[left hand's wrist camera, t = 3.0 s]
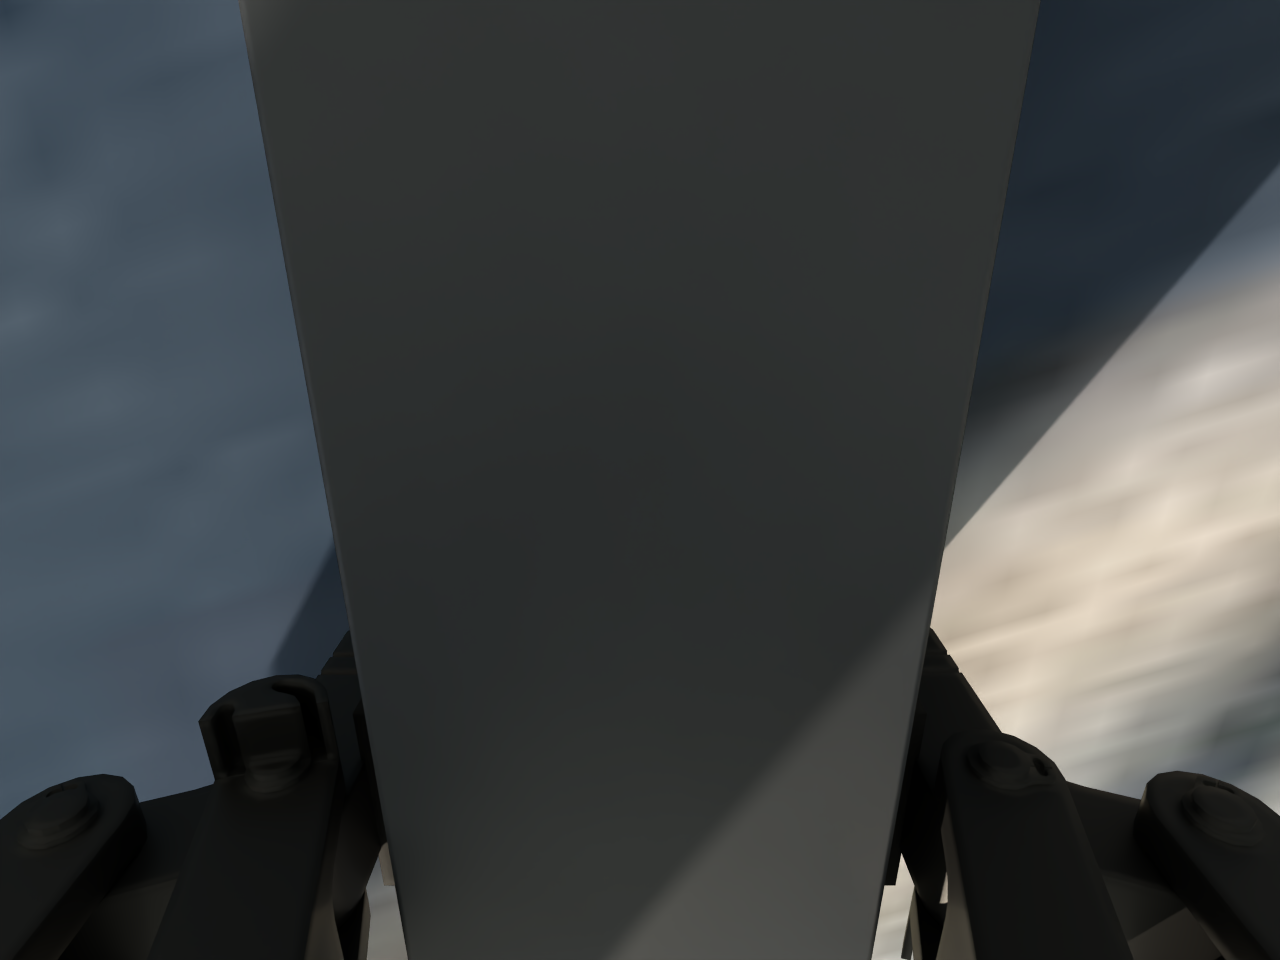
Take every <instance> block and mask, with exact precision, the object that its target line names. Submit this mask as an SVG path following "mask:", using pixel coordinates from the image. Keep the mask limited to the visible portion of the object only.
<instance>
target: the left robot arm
mask: <svg viewBox="0 0 1280 960" xmlns="http://www.w3.org/2000/svg"><path fill="white" fill-rule="evenodd" d="M198 722H199V726H200V729H201V733H202V736H203V740H204V743H205V747H206V750H207V754H208V757H209V761H210V764H211V768H212V771H213V775H214V778H215V781H214V784H212V785H209V786H205V787H202V788H199V789H196V790H192V791H187V792H183V793H179V794H174V795H170V796H166V797H162V798H157V799H153V800H149V801H144V802H140V803H139V801H138V798H137V795H136V792H135V789H134V786H133V785H131V784H130V783H129V782H128V781H127V780H126V779H125V778H123V777H120V776H114V775H107V774H99V775H92V776H85V777H78V778H75V779H72V780H69V781H66V782H63V783H60V784H58V785H55V786H52V787H49V788H47V789H46V790H44V791H42V792H40V793H38V794H36V795H35V796H33V797H31V798H29V799H27V800H25V801H24V802H22V803H21V804H19V805H18V806H17V807H16V808H14V809H13V810H12V811H11V812H9V813H8V814H7V815H6V816H4V817H3V818H2V819H1V820H0V960H366V959H367V949H368V938H369V927H370V917H371V916H370V909H369V902H368V896H367V891H366V885H367V883H368V880H369V878H370V875H371V873H372V870H373V868H374V865H375V863H376V860H377V858H378V855H379V860H380V865H381V871H382V876H383V882H384V885H395V882H394V877H393V871H392V865H391V860H390V854H389V849H388V843H387V837H386V832H385V826H384V820H383V815H382V809H381V803H380V798H379V792H378V786H377V781H376V775H375V769H374V764H373V758H372V753H371V747H370V741H369V736H368V730H367V724H366V719H365V713H364V707H363V702H362V696H361V690H360V685H359V679H358V673H357V668H356V662H355V657H354V651H353V645H352V640H351V634H350V630H349V631H348V632H347V633H346V634H345V636H344V637H343V639H342V640H341V642H340V643H339V645H338V646H337V648H336V649H335V651H334V652H333V657H330V658H329V660H328V661H327V663H326V664H325V666H324V667H323V669H322V670H321V675H318V676H317V678H316V679H314V678H310V677H306V676H302V675H276V676H272V677H268V678H264V679H260V680H256V681H252V682H250V683H247V684H245V685H243V686H241V687H239V688H237V689H234V690H232V691H230V692H228V693H227V694H226V695H224V696H223V697H221V698H220V699H219V700H217V701H216V702H215V703H213V704H212V705H211V706H210V707H209V708H208V709H207V711H206V712H205V713H204V715H203V716H202V717H201V719H200V720H199V721H198ZM901 853H902V855H903V858H904V860H905V863H906V865H907V868H908V870H909V873H910V875H911V878H912V880H913V883H914V885H915V886H914V891H913V896H912V901H911V906H910V911H909V916H908V921H907V926H906V931H905V937H904V942H903V948H902V955H901V958H903V959H907V960H911V955H912V950H913V957H914V960H1280V816H1279V815H1278V814H1277V813H1275V812H1274V811H1273V810H1272V809H1270V808H1269V807H1268V806H1267V805H1265V804H1264V803H1263V802H1262V801H1260V800H1259V799H1257V798H1256V797H1254V796H1252V795H1250V794H1248V793H1246V792H1244V791H1243V790H1241V789H1239V788H1237V787H1235V786H1233V785H1232V784H1229V783H1226V782H1223V781H1221V780H1217V779H1215V778H1212V777H1209V776H1206V775H1203V774H1196V773H1189V772H1182V771H1173V772H1166V773H1160V774H1157V775H1156V776H1155V777H1154V778H1152V779H1151V780H1150V781H1149V782H1148V783H1147V784H1146V787H1145V790H1144V793H1143V796H1142V799H1141V800H1140V799H1136V798H1131V797H1127V796H1123V795H1118V794H1114V793H1110V792H1105V791H1101V790H1097V789H1092V788H1088V787H1084V786H1081V785H1078V784H1074V783H1071V782H1068V781H1066V780H1065V778H1064V777H1063V775H1062V774H1061V772H1060V770H1059V769H1058V767H1057V766H1056V764H1055V763H1054V762H1053V761H1052V760H1051V759H1050V758H1048V757H1047V756H1046V755H1045V754H1044V753H1042V752H1041V751H1040V750H1039V749H1038V748H1036V747H1034V746H1033V745H1031V744H1029V743H1027V742H1025V741H1023V740H1021V739H1019V738H1017V737H1015V736H1012V735H1008V734H1005V733H1002V732H1001V731H1000V729H999V728H998V726H997V725H996V723H995V722H994V720H993V719H992V717H991V716H990V714H989V713H988V711H987V710H986V708H985V707H984V705H983V704H982V702H981V701H980V699H979V698H978V696H977V695H976V693H975V692H974V690H973V689H972V687H971V686H970V684H969V683H968V681H967V680H966V678H965V677H964V675H963V674H962V673H959V668H958V666H957V665H956V663H955V662H954V660H953V659H952V657H951V656H950V655H947V650H946V649H945V647H944V646H943V644H942V643H941V641H940V640H939V638H938V637H937V635H936V634H935V632H934V631H933V629H931V628H930V630H929V635H928V641H927V647H926V652H925V658H924V664H923V669H922V675H921V681H920V686H919V692H918V698H917V703H916V709H915V715H914V720H913V726H912V732H911V737H910V743H909V749H908V754H907V760H906V766H905V771H904V777H903V783H902V788H901V794H900V800H899V805H898V811H897V817H896V822H895V828H894V834H893V839H892V845H891V851H890V856H889V862H888V868H887V873H886V879H885V885H896V879H897V874H898V868H899V863H900V857H901Z"/></svg>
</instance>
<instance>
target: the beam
mask: <svg viewBox="0 0 1280 960" xmlns="http://www.w3.org/2000/svg"><path fill="white" fill-rule="evenodd" d="M238 1H239V7H240V13H241V18H242V24H243V30H244V35H245V41H246V47H247V52H248V58H249V63H250V69H251V75H252V80H253V86H254V92H255V97H256V103H257V109H258V114H259V120H260V126H261V131H262V137H263V143H264V148H265V154H266V159H267V165H268V171H269V176H270V182H271V188H272V193H273V199H274V205H275V210H276V216H277V222H278V227H279V233H280V239H281V244H282V250H283V255H284V261H285V267H286V272H287V278H288V284H289V289H290V295H291V301H292V306H293V312H294V318H295V323H296V329H297V335H298V340H299V346H300V352H301V357H302V363H303V368H304V374H305V380H306V385H307V391H308V397H309V402H310V408H311V414H312V419H313V425H314V431H315V436H316V442H317V448H318V453H319V459H320V464H321V470H322V476H323V481H324V487H325V493H326V498H327V504H328V510H329V515H330V521H331V527H332V532H333V538H334V544H335V549H336V555H337V560H338V566H339V572H340V577H341V583H342V589H343V594H344V600H345V606H346V611H347V617H348V623H349V628H350V634H351V640H352V645H353V651H354V657H355V662H356V668H357V673H358V679H359V685H360V690H361V696H362V702H363V707H364V713H365V719H366V724H367V730H368V736H369V741H370V747H371V753H372V758H373V764H374V769H375V775H376V781H377V786H378V792H379V798H380V803H381V809H382V815H383V820H384V826H385V832H386V837H387V843H388V849H389V854H390V860H391V865H392V871H393V877H394V882H395V888H396V894H397V899H398V905H399V911H400V916H401V922H402V928H403V933H404V939H405V945H406V950H407V956H408V960H871V958H872V953H873V947H874V941H875V936H876V930H877V924H878V919H879V913H880V907H881V902H882V896H883V890H884V885H885V879H886V873H887V868H888V862H889V856H890V851H891V845H892V839H893V834H894V828H895V822H896V817H897V811H898V805H899V800H900V794H901V788H902V783H903V777H904V771H905V766H906V760H907V754H908V749H909V743H910V737H911V732H912V726H913V720H914V715H915V709H916V703H917V698H918V692H919V686H920V681H921V675H922V669H923V664H924V658H925V652H926V647H927V641H928V635H929V630H930V624H931V618H932V613H933V607H934V601H935V596H936V590H937V584H938V579H939V573H940V567H941V562H942V556H943V550H944V545H945V539H946V533H947V528H948V522H949V516H950V511H951V505H952V499H953V494H954V488H955V483H956V477H957V471H958V466H959V460H960V454H961V449H962V443H963V437H964V432H965V426H966V420H967V415H968V409H969V403H970V398H971V392H972V386H973V381H974V375H975V369H976V364H977V358H978V352H979V347H980V341H981V335H982V330H983V324H984V318H985V313H986V307H987V301H988V296H989V290H990V284H991V279H992V273H993V267H994V262H995V256H996V250H997V245H998V239H999V233H1000V228H1001V222H1002V216H1003V211H1004V205H1005V199H1006V194H1007V188H1008V182H1009V177H1010V171H1011V165H1012V160H1013V154H1014V148H1015V143H1016V137H1017V131H1018V126H1019V120H1020V114H1021V109H1022V103H1023V97H1024V92H1025V86H1026V80H1027V75H1028V69H1029V63H1030V58H1031V52H1032V46H1033V41H1034V35H1035V29H1036V24H1037V18H1038V12H1039V7H1040V1H1041V0H238Z"/></svg>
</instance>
